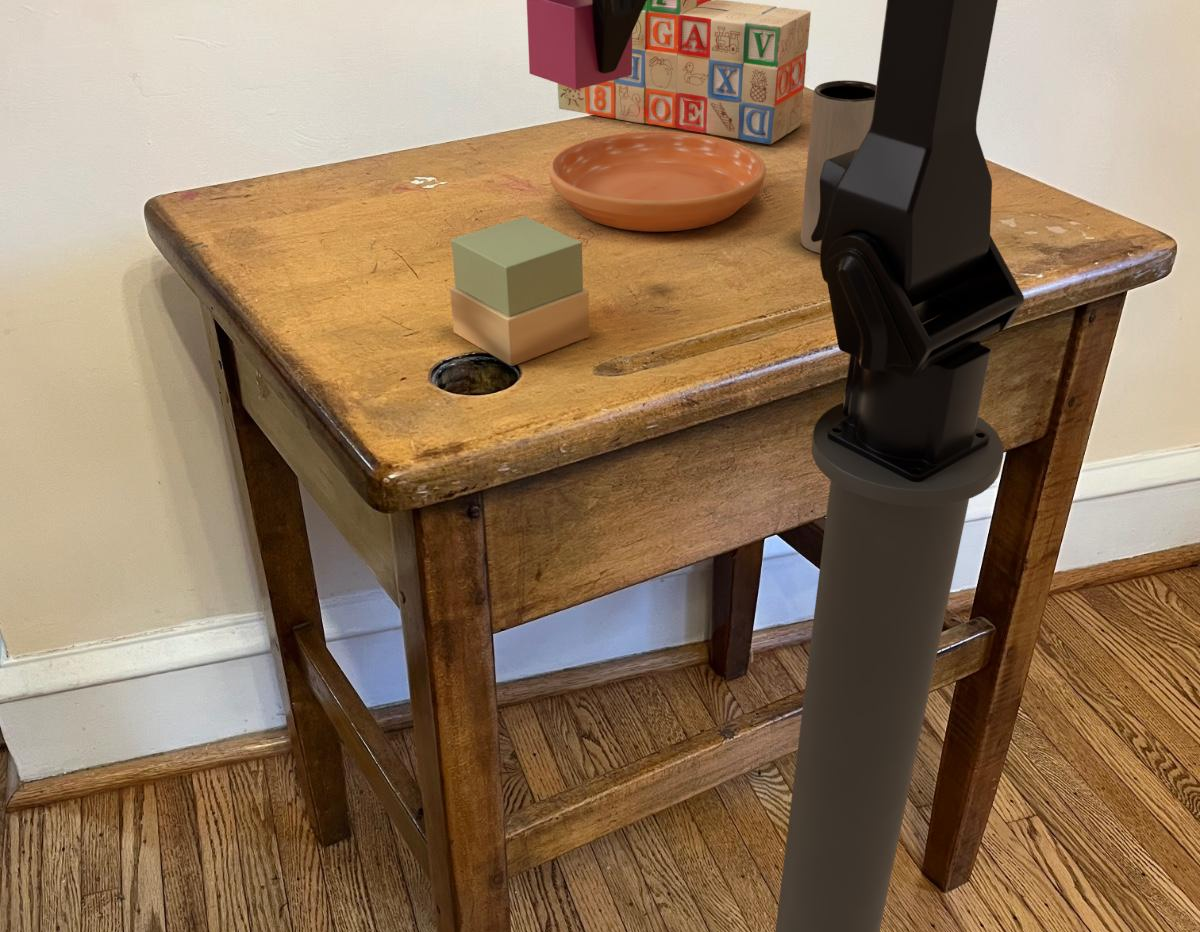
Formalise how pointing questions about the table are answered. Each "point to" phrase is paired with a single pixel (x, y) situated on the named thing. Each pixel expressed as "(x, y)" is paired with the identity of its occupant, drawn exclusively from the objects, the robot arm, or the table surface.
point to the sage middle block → (517, 265)
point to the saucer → (657, 179)
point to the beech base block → (521, 326)
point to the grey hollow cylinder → (833, 138)
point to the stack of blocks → (708, 70)
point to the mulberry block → (568, 44)
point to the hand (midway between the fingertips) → (580, 63)
